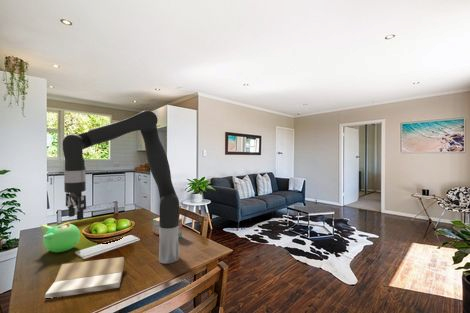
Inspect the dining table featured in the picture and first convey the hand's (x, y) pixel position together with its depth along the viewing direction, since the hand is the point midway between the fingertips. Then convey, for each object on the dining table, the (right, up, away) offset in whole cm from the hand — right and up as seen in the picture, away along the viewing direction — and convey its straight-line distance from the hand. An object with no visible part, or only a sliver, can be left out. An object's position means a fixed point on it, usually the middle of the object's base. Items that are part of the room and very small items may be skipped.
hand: (75, 217), depth 98 cm
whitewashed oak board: (+11, -25, -9) cm, 29 cm away
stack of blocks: (+25, -25, +49) cm, 60 cm away
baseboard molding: (-1, -25, +29) cm, 38 cm away
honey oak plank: (+8, -23, 0) cm, 24 cm away
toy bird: (-24, -24, +23) cm, 41 cm away
